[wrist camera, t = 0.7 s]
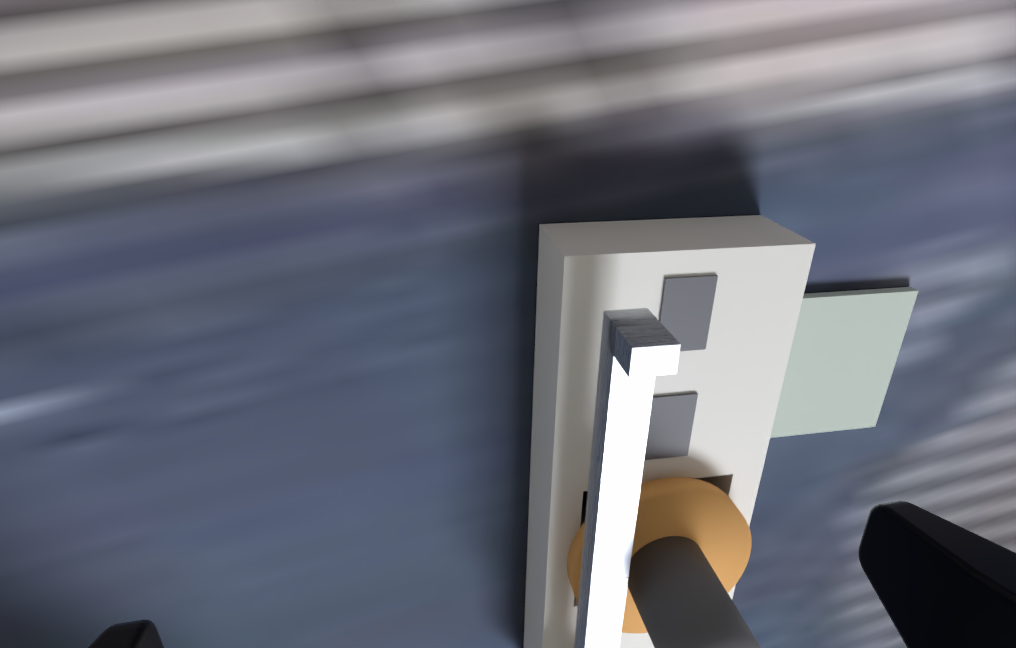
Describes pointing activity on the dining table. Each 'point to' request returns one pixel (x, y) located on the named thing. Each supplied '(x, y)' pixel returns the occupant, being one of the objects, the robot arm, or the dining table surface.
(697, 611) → the plug
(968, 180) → the dining table surface
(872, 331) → the mat
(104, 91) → the dining table surface
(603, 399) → the clip
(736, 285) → the power strip
